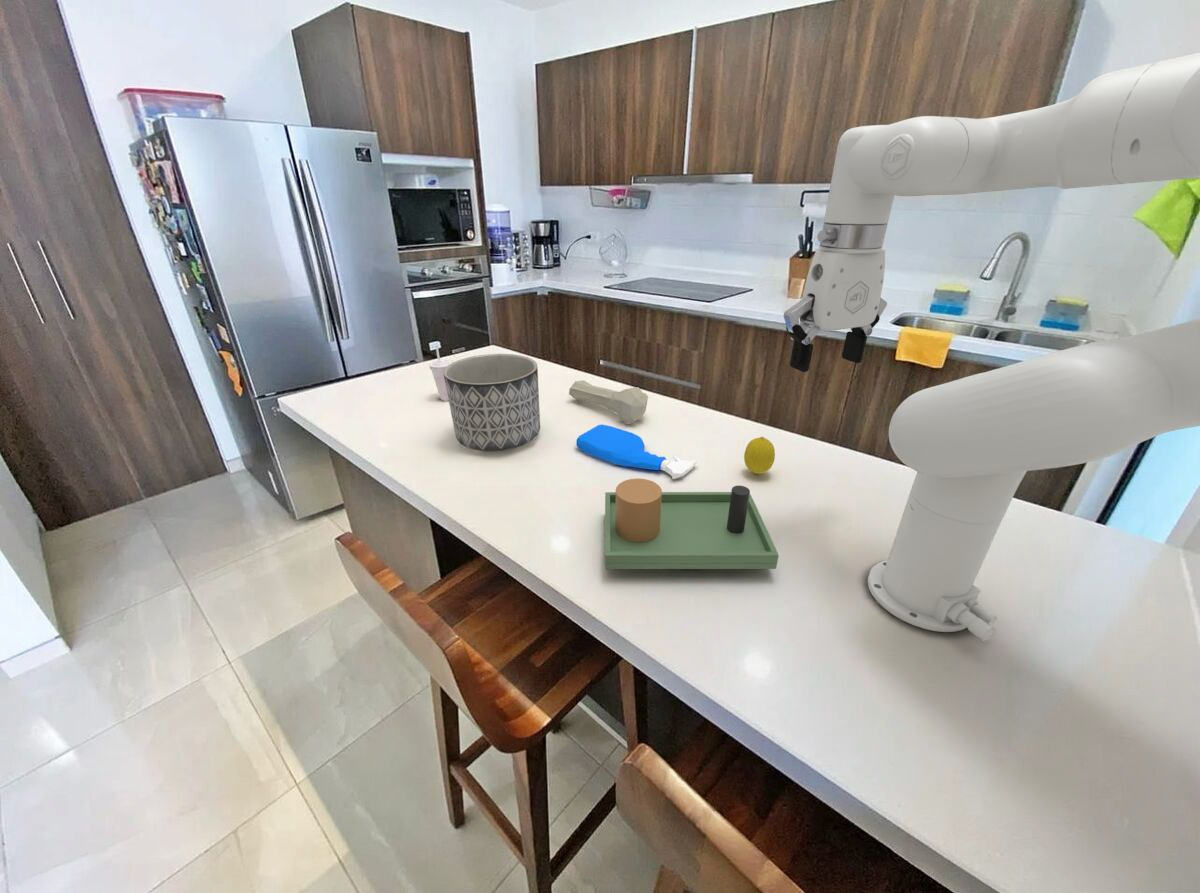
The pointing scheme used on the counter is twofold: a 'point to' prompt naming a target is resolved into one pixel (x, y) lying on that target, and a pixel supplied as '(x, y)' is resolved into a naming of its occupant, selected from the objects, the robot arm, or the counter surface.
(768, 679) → the counter surface
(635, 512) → the stubby tan cylinder
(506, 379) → the planter
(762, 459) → the lemon
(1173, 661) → the counter surface
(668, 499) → the tray
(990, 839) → the counter surface
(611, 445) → the spray bottle
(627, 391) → the faceted club
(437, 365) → the smoothie
